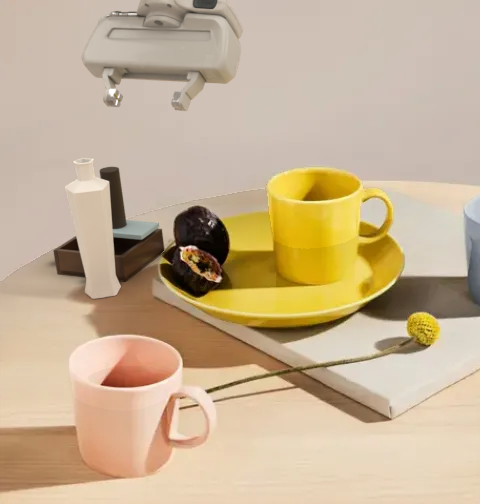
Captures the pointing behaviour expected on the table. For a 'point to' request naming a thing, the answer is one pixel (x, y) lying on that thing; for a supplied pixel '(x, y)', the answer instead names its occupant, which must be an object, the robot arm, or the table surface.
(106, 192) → the white faceted vase
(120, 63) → the robot arm
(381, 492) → the table surface
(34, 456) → the table surface
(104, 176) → the dark cylinder on slab
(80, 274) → the dark brown square tray
